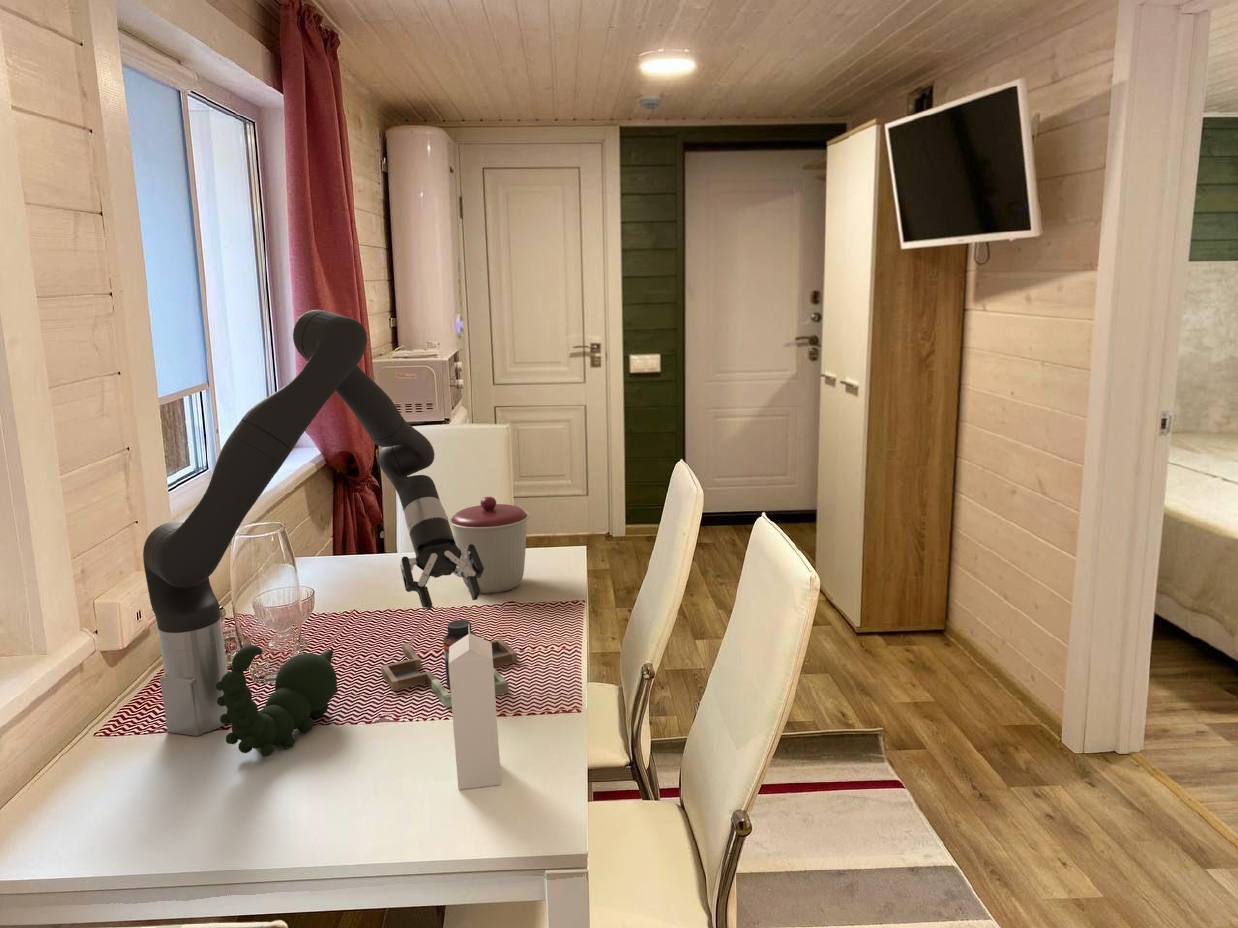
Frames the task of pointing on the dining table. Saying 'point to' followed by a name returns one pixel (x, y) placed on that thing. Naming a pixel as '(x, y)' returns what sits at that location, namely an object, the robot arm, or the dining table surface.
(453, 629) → the supplement bottle
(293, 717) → the toy figurine
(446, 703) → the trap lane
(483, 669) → the milk
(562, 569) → the dining table surface
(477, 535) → the canister
